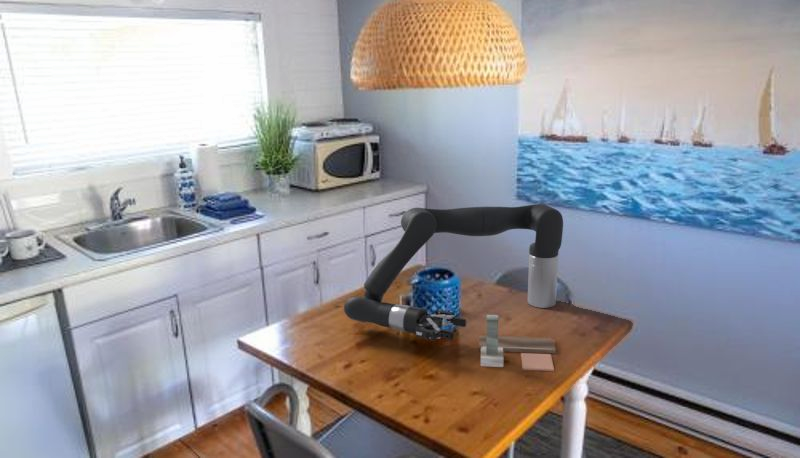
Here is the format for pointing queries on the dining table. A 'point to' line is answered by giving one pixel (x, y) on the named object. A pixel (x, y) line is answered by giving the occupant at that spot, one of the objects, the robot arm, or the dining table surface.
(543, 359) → the end pad
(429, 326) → the robot arm
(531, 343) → the grey-brown board
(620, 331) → the dining table surface
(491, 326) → the tall grey square pillar
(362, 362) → the dining table surface
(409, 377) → the dining table surface
